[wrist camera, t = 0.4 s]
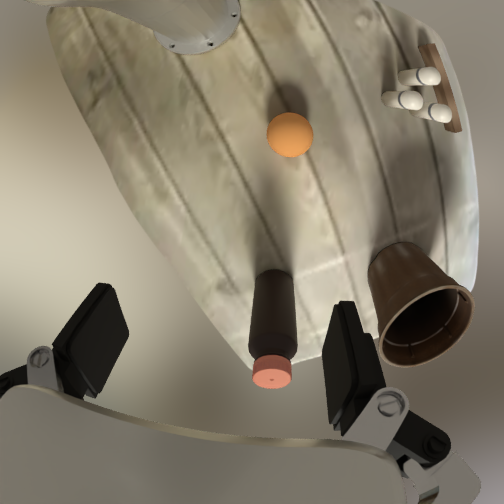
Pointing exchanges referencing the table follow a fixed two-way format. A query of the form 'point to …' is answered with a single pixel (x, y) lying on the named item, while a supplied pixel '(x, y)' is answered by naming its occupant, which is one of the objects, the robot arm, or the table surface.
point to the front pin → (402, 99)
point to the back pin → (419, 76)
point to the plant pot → (416, 306)
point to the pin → (433, 112)
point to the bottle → (273, 329)
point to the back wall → (441, 85)
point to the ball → (289, 134)
